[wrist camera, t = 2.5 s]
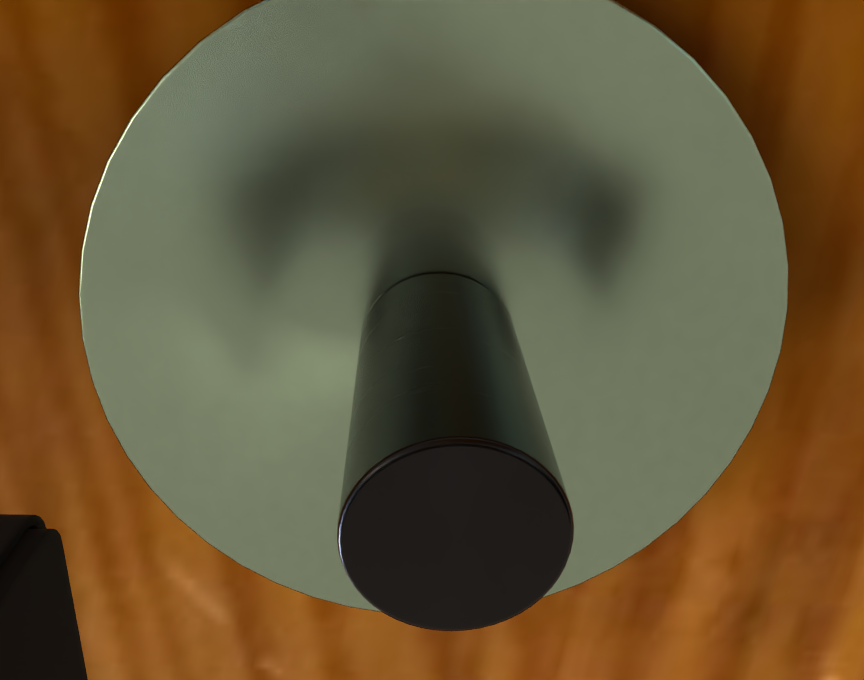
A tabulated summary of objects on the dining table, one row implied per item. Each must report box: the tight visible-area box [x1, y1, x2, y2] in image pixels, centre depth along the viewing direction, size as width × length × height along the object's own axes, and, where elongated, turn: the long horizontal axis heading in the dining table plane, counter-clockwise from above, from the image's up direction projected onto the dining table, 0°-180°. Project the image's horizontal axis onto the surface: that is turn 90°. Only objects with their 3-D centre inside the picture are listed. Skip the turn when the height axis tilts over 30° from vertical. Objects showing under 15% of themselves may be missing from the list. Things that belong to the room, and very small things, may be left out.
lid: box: [78, 0, 788, 631], centre depth 13 cm, size 14×14×7 cm
